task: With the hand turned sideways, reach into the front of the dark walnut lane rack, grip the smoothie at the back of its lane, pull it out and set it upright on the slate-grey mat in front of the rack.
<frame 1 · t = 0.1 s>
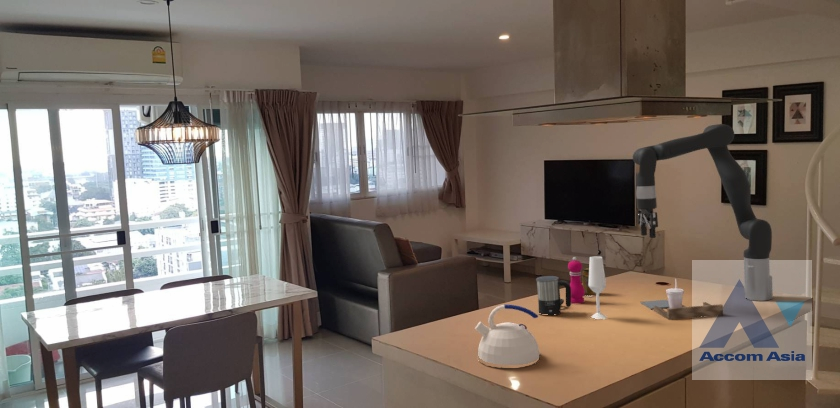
hand: (648, 236, 244), 29 cm above the kitchen island, tool pointing down, fingers open, 8 cm apart
kettle: (508, 359, 195), on the kitchen island
champagne flute: (598, 317, 235), on the kitchen island
lane rack: (687, 313, 233), on the kitchen island
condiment: (588, 295, 273), on the kitchen island
slate mat: (659, 305, 247), on the kitchen island
milk frother: (551, 311, 250), on the kitchen island
pepper mill: (576, 302, 261), on the kitchen island
smoothie: (675, 315, 232), resting in lane rack
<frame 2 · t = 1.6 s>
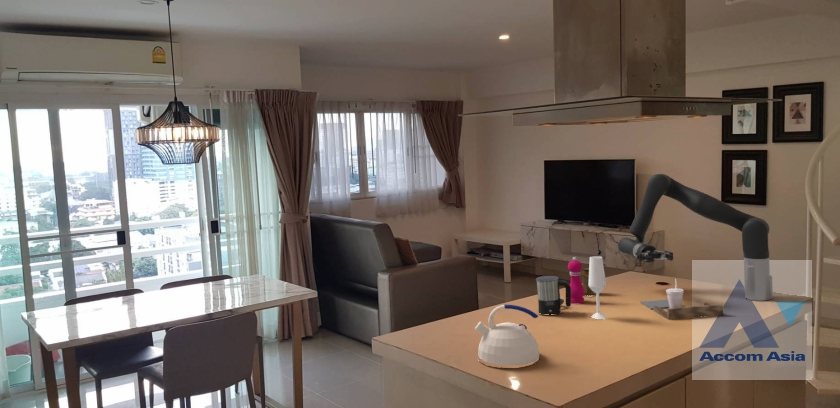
hand: (661, 258, 242), 20 cm above the kitchen island, tool horizontal, fingers open, 8 cm apart
nothing on the kitchen island moved.
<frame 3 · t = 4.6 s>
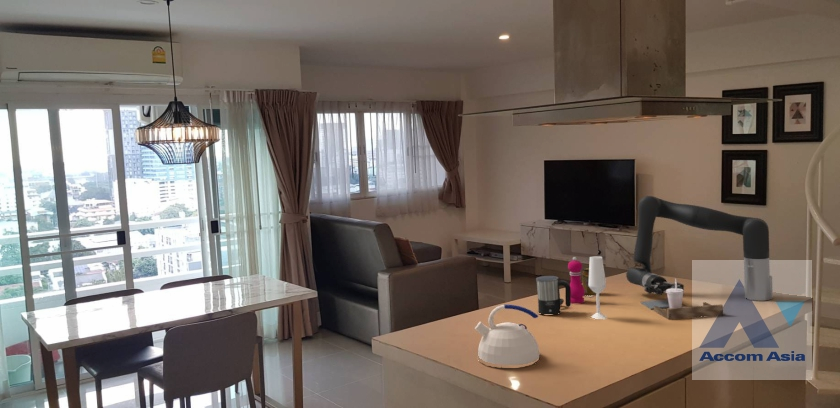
hand: (671, 291, 234), 8 cm above the kitchen island, tool horizontal, fingers open, 8 cm apart
nothing on the kitchen island moved.
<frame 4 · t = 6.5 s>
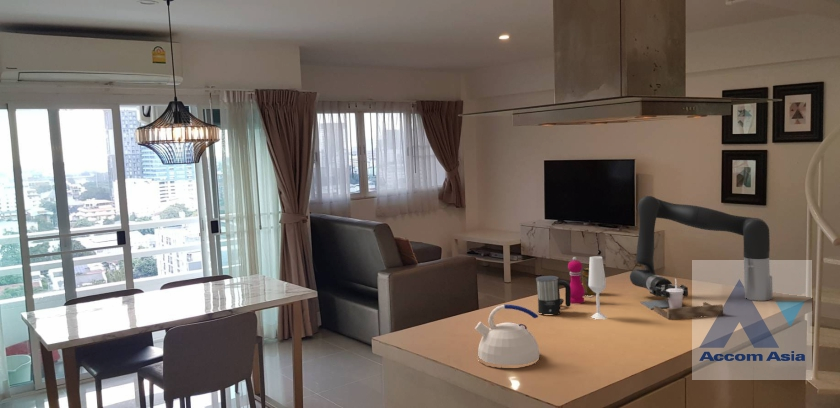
hand: (677, 294, 229), 8 cm above the kitchen island, tool horizontal, fingers closed on smoothie, 6 cm apart
smoothie: (675, 314, 232), resting in lane rack, touching gripper
everything else where it was.
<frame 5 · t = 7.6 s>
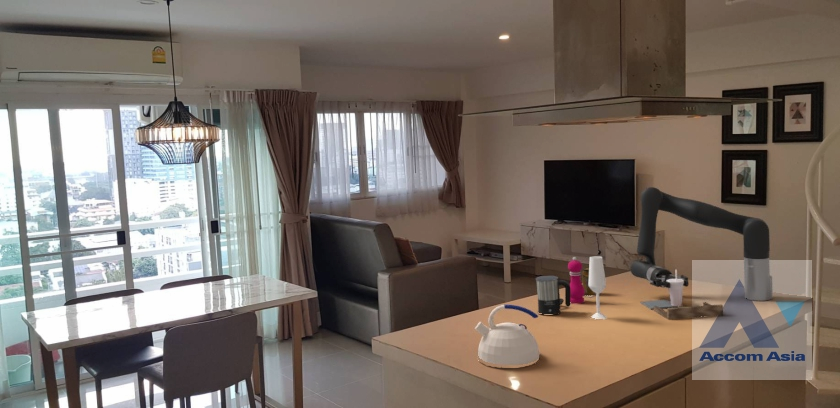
hand: (678, 284, 229), 12 cm above the kitchen island, tool horizontal, fingers closed on smoothie, 6 cm apart
smoothie: (676, 305, 232), point 4 cm above the kitchen island, touching gripper
everything else where it was.
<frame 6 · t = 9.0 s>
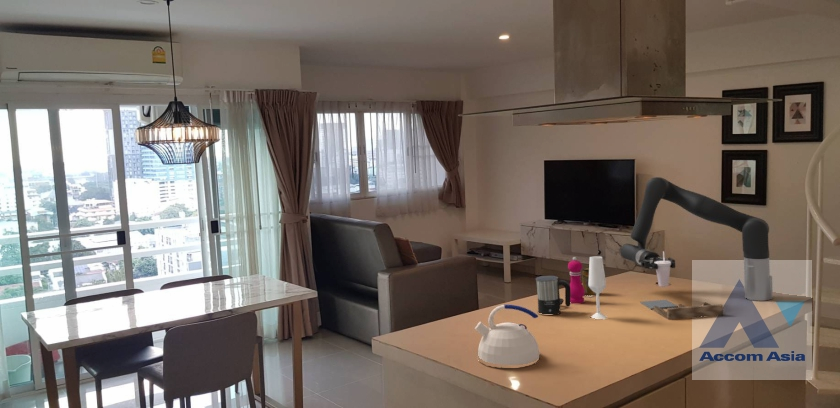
hand: (665, 266, 238), 18 cm above the kitchen island, tool horizontal, fingers closed on smoothie, 6 cm apart
smoothie: (663, 286, 241), point 9 cm above the kitchen island, touching gripper
everything else where it was.
when the fingers open (10 cm above the kitchen island, at t = 11.9 s): smoothie stays where it is, resting on slate mat.
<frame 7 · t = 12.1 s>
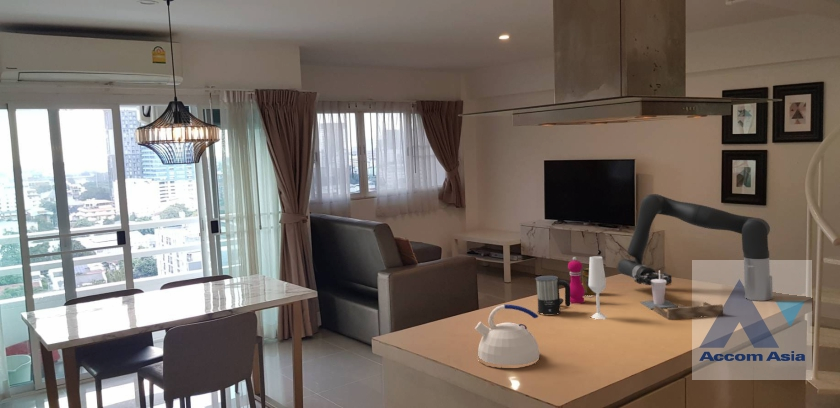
hand: (660, 282, 244), 10 cm above the kitchen island, tool horizontal, fingers open, 8 cm apart
smoothie: (658, 304, 247), resting on slate mat
everything else where it was.
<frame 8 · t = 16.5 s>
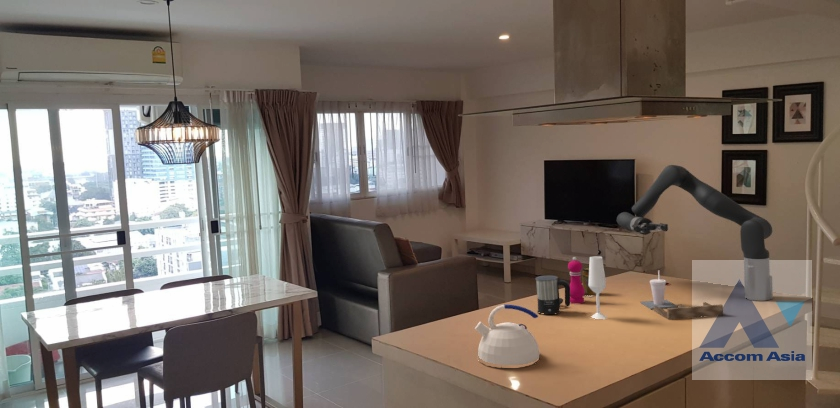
hand: (656, 229, 256), 30 cm above the kitchen island, tool horizontal, fingers open, 8 cm apart
at the end: smoothie inside the target area on the slate mat (0.1 cm from its centre), point 0.4 cm above the slate mat's base; smoothie tilted 0°; the gripper is holding nothing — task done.
